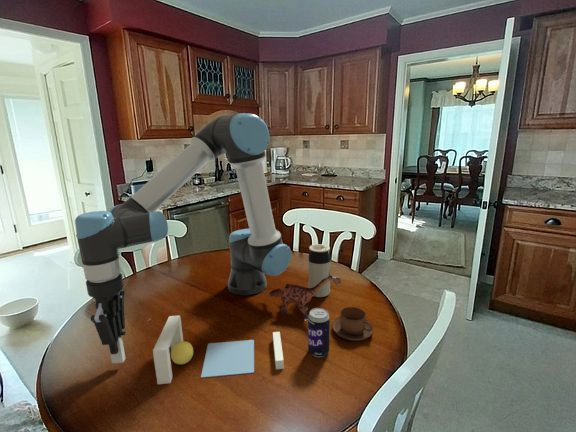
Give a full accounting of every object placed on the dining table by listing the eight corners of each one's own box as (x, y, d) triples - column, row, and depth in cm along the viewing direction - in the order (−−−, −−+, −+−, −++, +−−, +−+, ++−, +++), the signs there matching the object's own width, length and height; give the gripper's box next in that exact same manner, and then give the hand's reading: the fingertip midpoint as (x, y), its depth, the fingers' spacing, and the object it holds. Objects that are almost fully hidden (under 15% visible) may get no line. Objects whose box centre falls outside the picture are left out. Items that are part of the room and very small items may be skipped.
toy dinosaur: (338, 328, 95) (339, 283, 92) (252, 309, 106) (250, 269, 103) (344, 313, 103) (345, 271, 99) (263, 298, 114) (261, 259, 110)
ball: (196, 353, 85) (193, 335, 84) (192, 368, 80) (189, 349, 78) (174, 355, 84) (172, 337, 83) (169, 370, 79) (166, 351, 78)
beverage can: (306, 346, 87) (306, 307, 84) (326, 344, 88) (327, 306, 85) (309, 360, 82) (309, 319, 79) (331, 358, 82) (331, 318, 79)
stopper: (279, 339, 90) (279, 331, 90) (283, 368, 79) (283, 360, 78) (273, 339, 90) (272, 332, 90) (275, 369, 79) (275, 360, 78)
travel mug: (305, 295, 115) (305, 249, 111) (312, 286, 122) (312, 242, 118) (326, 299, 112) (327, 252, 108) (332, 289, 119) (332, 245, 115)
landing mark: (253, 340, 90) (253, 339, 90) (254, 372, 78) (254, 372, 78) (208, 344, 89) (208, 343, 89) (200, 377, 76) (200, 377, 76)
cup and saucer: (374, 324, 97) (375, 306, 96) (371, 348, 86) (372, 328, 85) (336, 317, 101) (336, 300, 99) (328, 340, 90) (328, 321, 88)
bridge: (183, 344, 89) (180, 315, 87) (170, 383, 75) (166, 349, 73) (172, 345, 89) (169, 316, 86) (157, 384, 75) (152, 350, 72)
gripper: (100, 266, 80) (114, 345, 86) (71, 290, 68) (90, 381, 73) (130, 264, 81) (142, 343, 87) (108, 287, 68) (123, 378, 74)
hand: (118, 360), depth 80 cm, fingers closed
